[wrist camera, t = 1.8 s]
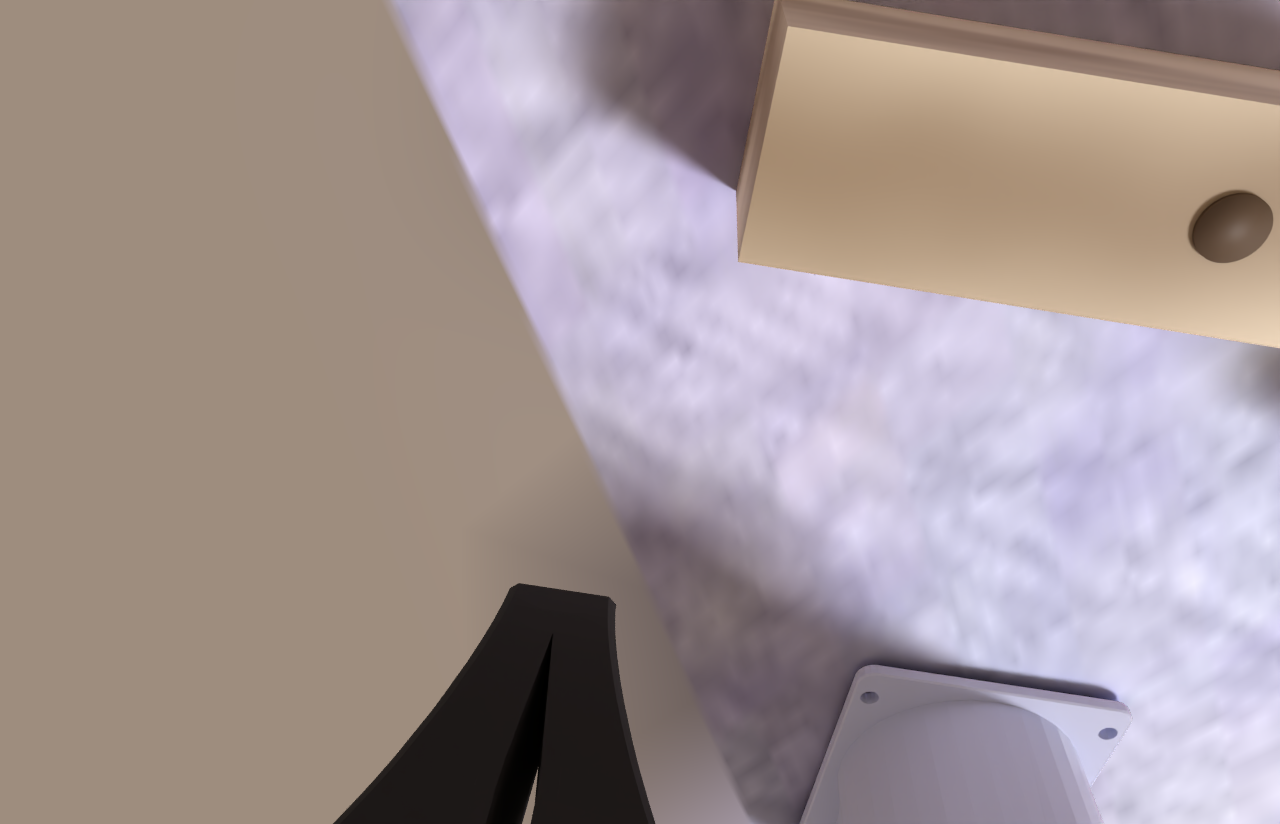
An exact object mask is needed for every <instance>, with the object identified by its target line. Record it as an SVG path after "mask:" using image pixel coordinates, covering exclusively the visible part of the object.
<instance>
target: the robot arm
mask: <svg viewBox="0 0 1280 824" xmlns="http://www.w3.org/2000/svg"><path fill="white" fill-rule="evenodd" d="M615 609H616V604H615V603H614V602H613V601H612V600H611V599H610V598H609V597H606V596H600V595H593V594H587V593H580V592H573V591H567V590H559V589H553V588H547V587H540V586H534V585H527V584H520V583H519V584H517V585H515V586H513V587H511V588H510V589H509V592H508V594H507V596H506V598H505V600H504V602H503V604H502V606H501V608H500V609H499V611H498V613H497V615H496V617H495V619H494V621H493V622H492V624H491V626H490V627H489V629H488V630H487V632H486V634H485V635H484V637H483V639H482V640H481V642H480V643H479V645H478V646H477V648H476V649H475V651H474V652H473V654H472V656H471V657H470V659H469V660H468V662H467V663H466V664H465V666H464V667H463V669H462V670H461V671H460V673H459V674H458V676H457V677H456V678H455V680H454V681H453V682H452V684H451V685H450V687H449V688H448V690H447V691H446V692H445V694H444V695H443V696H442V698H441V699H440V701H439V702H438V703H437V705H436V706H435V707H434V709H433V710H432V711H431V713H430V714H429V715H428V716H427V718H426V719H425V720H424V721H423V722H422V724H421V725H420V726H419V727H418V729H417V730H416V731H415V732H414V733H413V735H412V736H411V737H410V738H409V740H408V741H407V742H406V743H405V745H404V746H403V747H402V748H401V750H400V751H399V752H398V753H397V754H396V756H395V757H394V758H393V759H392V760H391V761H390V763H389V764H388V765H387V766H386V767H385V768H384V769H383V771H382V772H381V773H380V774H379V775H378V776H377V777H376V779H375V780H374V781H373V782H372V783H371V784H370V785H369V786H368V787H367V788H366V790H365V791H364V792H363V793H362V794H361V795H360V796H359V797H358V798H357V799H356V800H355V801H354V802H353V803H352V805H351V806H350V807H349V808H348V809H347V810H346V811H345V812H344V813H343V814H342V815H341V816H340V817H339V818H338V819H337V820H336V821H335V822H334V823H333V824H522V821H523V818H524V815H525V811H526V807H527V804H528V801H529V797H530V794H531V790H532V787H533V783H534V780H535V776H536V773H537V769H538V777H537V787H536V797H535V806H534V811H533V815H532V820H531V824H655V821H654V818H653V815H652V811H651V808H650V805H649V802H648V798H647V795H646V791H645V787H644V784H643V780H642V777H641V774H640V770H639V766H638V762H637V758H636V754H635V750H634V746H633V742H632V738H631V733H630V728H629V724H628V719H627V714H626V710H625V705H624V699H623V694H622V689H621V682H620V675H619V668H618V660H617V651H616V639H615ZM865 692H871V693H865ZM1132 721H1133V718H1132V715H1131V712H1130V710H1129V708H1128V706H1127V705H1125V704H1124V703H1122V702H1118V701H1113V700H1106V699H1099V698H1093V697H1086V696H1079V695H1073V694H1066V693H1060V692H1053V691H1046V690H1040V689H1033V688H1026V687H1020V686H1013V685H1006V684H1000V683H993V682H987V681H980V680H973V679H967V678H960V677H953V676H947V675H940V674H934V673H927V672H920V671H914V670H907V669H900V668H894V667H887V666H881V665H868V666H864V667H862V668H861V669H859V670H858V671H857V673H856V674H855V677H854V680H853V682H852V685H851V688H850V690H849V693H848V696H847V698H846V701H845V704H844V706H843V709H842V712H841V714H840V717H839V720H838V722H837V725H836V728H835V730H834V733H833V736H832V738H831V741H830V744H829V746H828V749H827V751H826V754H825V757H824V759H823V762H822V765H821V767H820V770H819V773H818V775H817V778H816V781H815V783H814V786H813V789H812V791H811V794H810V797H809V799H808V802H807V805H806V807H805V810H804V813H803V815H802V818H801V821H800V823H799V824H1104V822H1103V819H1102V817H1101V814H1100V811H1099V809H1098V806H1097V803H1096V801H1095V798H1094V795H1093V793H1092V790H1091V786H1092V785H1093V783H1094V781H1095V780H1096V778H1097V777H1098V775H1099V774H1100V772H1101V771H1102V769H1103V767H1104V766H1105V764H1106V763H1107V761H1108V760H1109V758H1110V756H1111V755H1112V753H1113V752H1114V750H1115V749H1116V747H1117V746H1118V744H1119V742H1120V741H1121V739H1122V738H1123V736H1124V735H1125V733H1126V732H1127V730H1128V728H1129V727H1130V725H1131V724H1132Z"/></svg>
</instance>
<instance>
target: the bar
mask: <svg viewBox="0 0 1280 824" xmlns="http://www.w3.org/2000/svg"><path fill="white" fill-rule="evenodd" d="M736 202H737V237H738V262H743V263H749V264H755V265H762V266H768V267H774V268H780V269H787V270H793V271H799V272H805V273H812V274H818V275H824V276H830V277H837V278H843V279H849V280H856V281H862V282H868V283H874V284H881V285H887V286H893V287H899V288H906V289H912V290H918V291H925V292H931V293H937V294H943V295H950V296H956V297H962V298H968V299H975V300H981V301H987V302H993V303H1000V304H1006V305H1012V306H1019V307H1025V308H1031V309H1037V310H1044V311H1050V312H1056V313H1062V314H1069V315H1075V316H1081V317H1088V318H1094V319H1100V320H1106V321H1113V322H1119V323H1125V324H1131V325H1138V326H1144V327H1150V328H1156V329H1163V330H1169V331H1175V332H1182V333H1188V334H1194V335H1200V336H1207V337H1213V338H1219V339H1225V340H1232V341H1238V342H1244V343H1250V344H1257V345H1263V346H1269V347H1276V348H1280V71H1279V70H1273V69H1267V68H1261V67H1255V66H1249V65H1242V64H1236V63H1230V62H1224V61H1218V60H1212V59H1205V58H1199V57H1193V56H1187V55H1181V54H1175V53H1169V52H1162V51H1156V50H1150V49H1144V48H1138V47H1132V46H1125V45H1119V44H1113V43H1107V42H1101V41H1095V40H1088V39H1082V38H1076V37H1070V36H1064V35H1058V34H1051V33H1045V32H1039V31H1033V30H1027V29H1021V28H1015V27H1008V26H1002V25H996V24H990V23H984V22H978V21H971V20H965V19H959V18H953V17H947V16H941V15H934V14H928V13H922V12H916V11H910V10H904V9H897V8H891V7H885V6H879V5H873V4H867V3H861V2H854V1H848V0H774V5H773V10H772V15H771V20H770V25H769V30H768V35H767V40H766V45H765V50H764V55H763V60H762V65H761V70H760V75H759V80H758V85H757V90H756V95H755V100H754V105H753V110H752V115H751V120H750V125H749V130H748V135H747V140H746V145H745V150H744V155H743V160H742V165H741V170H740V175H739V180H738V185H737V190H736Z"/></svg>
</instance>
